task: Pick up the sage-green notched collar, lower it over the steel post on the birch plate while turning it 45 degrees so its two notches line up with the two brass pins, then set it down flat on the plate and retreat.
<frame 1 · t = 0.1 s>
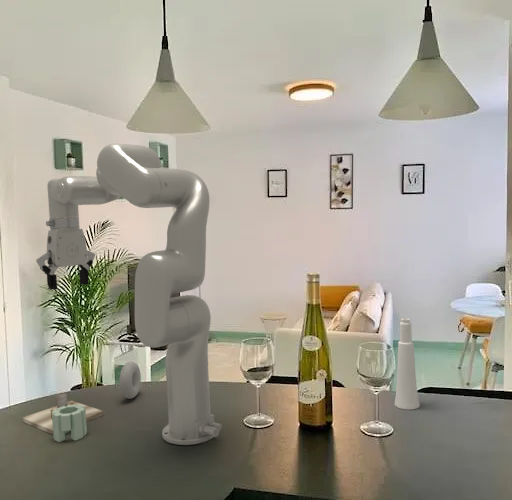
hand: (68, 286, 147), 31 cm above the table, tool pointing down, fingers open, 9 cm apart
collar: (70, 435, 123), on the table
post base: (63, 418, 134), on the table
cosmetic bottle: (407, 406, 133), on the table
donut: (131, 398, 147), on the table
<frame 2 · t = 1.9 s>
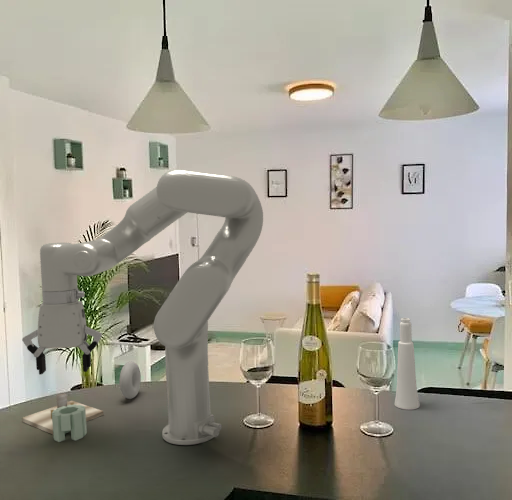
hand: (64, 371, 122), 15 cm above the table, tool pointing down, fingers open, 9 cm apart
nothing on the table moved.
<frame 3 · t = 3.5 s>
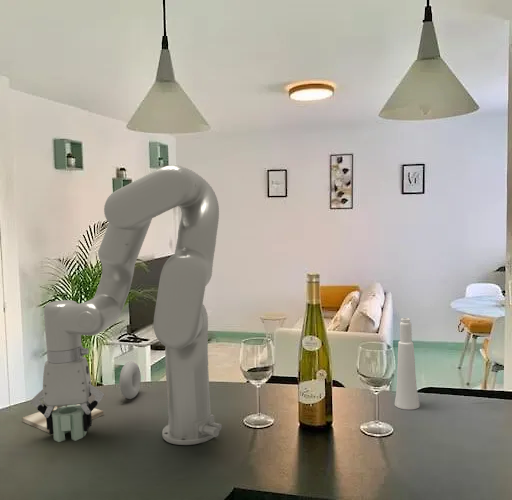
hand: (69, 430, 123), 1 cm above the table, tool pointing down, fingers closed on collar, 7 cm apart
collar: (70, 435, 123), on the table, touching gripper
everything else where it was.
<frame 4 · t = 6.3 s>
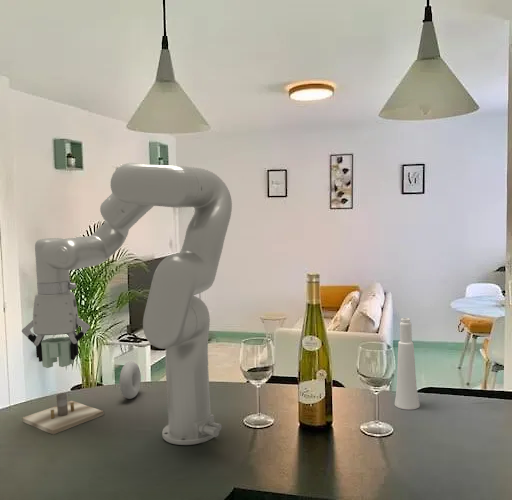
hand: (57, 358, 133), 15 cm above the table, tool pointing down, fingers closed on collar, 7 cm apart
collar: (58, 363, 133), point 14 cm above the table, touching gripper
everything else where it was.
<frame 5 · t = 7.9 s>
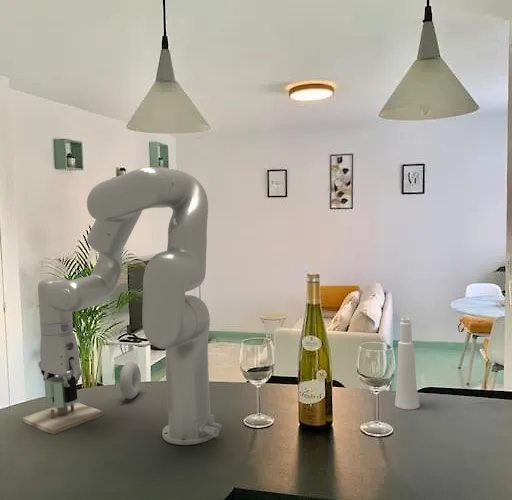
hand: (61, 397, 133), 5 cm above the table, tool pointing down, fingers closed on collar, 7 cm apart
collar: (61, 402, 134), point 4 cm above the table, touching gripper
everything else where it was.
when the fingers open (3 cm above the table, at t = 9.4 s): collar stays where it is, resting on post base.
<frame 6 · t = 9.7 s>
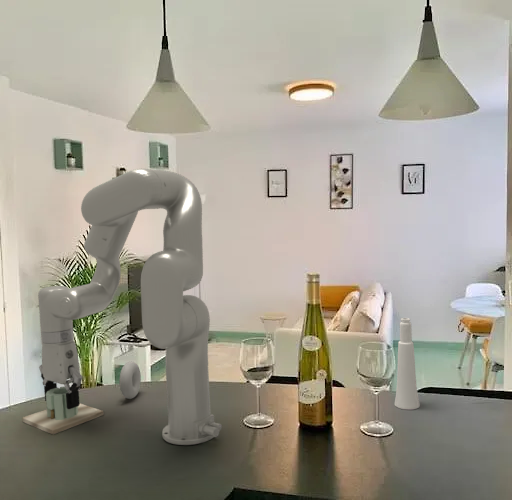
hand: (62, 403, 133), 4 cm above the table, tool pointing down, fingers open, 9 cm apart
collar: (62, 414, 134), point 1 cm above the table, touching post base
everything else where it was.
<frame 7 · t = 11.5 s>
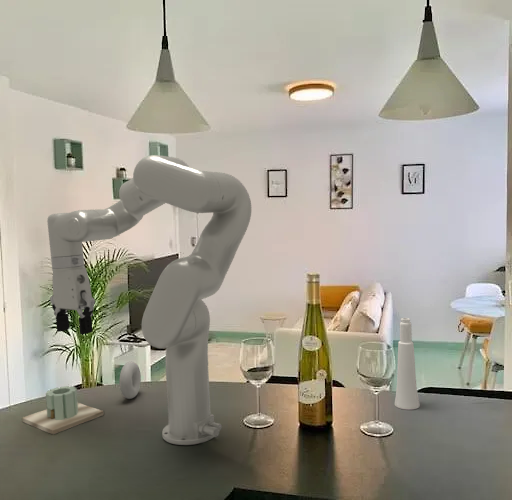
hand: (74, 331, 132), 22 cm above the table, tool pointing down, fingers open, 9 cm apart
nothing on the table moved.
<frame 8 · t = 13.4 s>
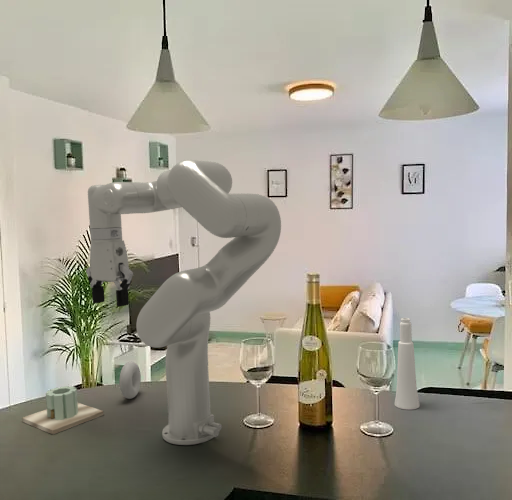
hand: (110, 304, 132), 28 cm above the table, tool pointing down, fingers open, 9 cm apart
nothing on the table moved.
at the end: collar 0.0 cm off-centre on the post base, point 1.0 cm above the post base's base; collar tilted 0°; the gripper is holding nothing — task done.
